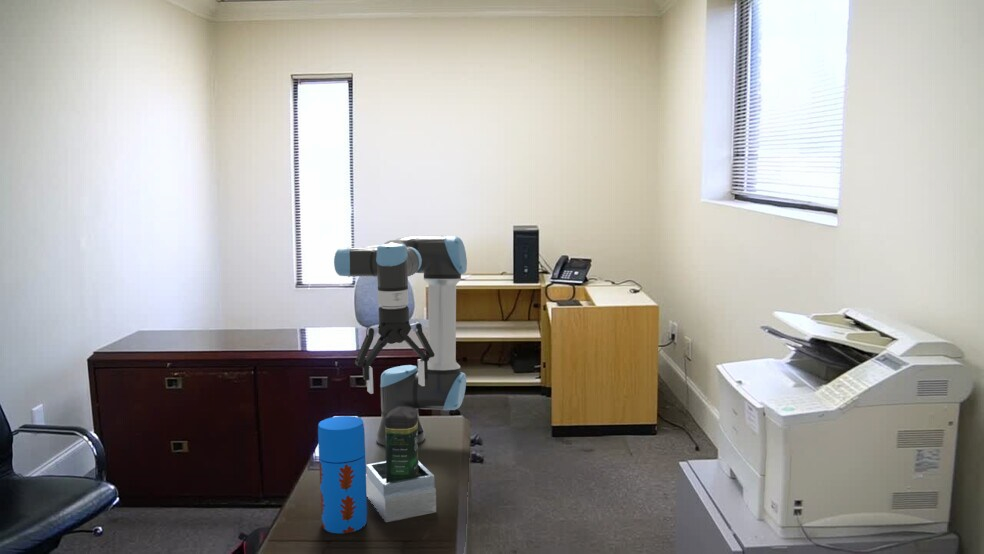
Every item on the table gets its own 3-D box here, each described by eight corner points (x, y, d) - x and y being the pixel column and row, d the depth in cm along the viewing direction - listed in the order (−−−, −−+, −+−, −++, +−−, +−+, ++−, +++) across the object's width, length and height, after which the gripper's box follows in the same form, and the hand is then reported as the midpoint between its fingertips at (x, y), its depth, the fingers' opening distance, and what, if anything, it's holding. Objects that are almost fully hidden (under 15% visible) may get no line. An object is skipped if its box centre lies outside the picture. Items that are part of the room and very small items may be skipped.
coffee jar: (415, 488, 189) (413, 415, 186) (383, 487, 189) (381, 415, 187) (421, 473, 198) (420, 404, 196) (391, 472, 199) (389, 403, 197)
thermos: (326, 537, 176) (322, 432, 173) (317, 518, 186) (313, 419, 183) (372, 528, 181) (369, 426, 178) (361, 510, 190) (358, 413, 187)
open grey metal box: (413, 487, 204) (412, 455, 203) (436, 512, 189) (435, 477, 188) (366, 496, 199) (365, 463, 198) (385, 522, 184) (384, 486, 183)
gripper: (348, 313, 182) (352, 399, 185) (445, 303, 192) (447, 385, 195) (340, 308, 188) (344, 391, 192) (434, 299, 199) (436, 378, 202)
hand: (396, 388), depth 193 cm, fingers open, 13 cm apart
